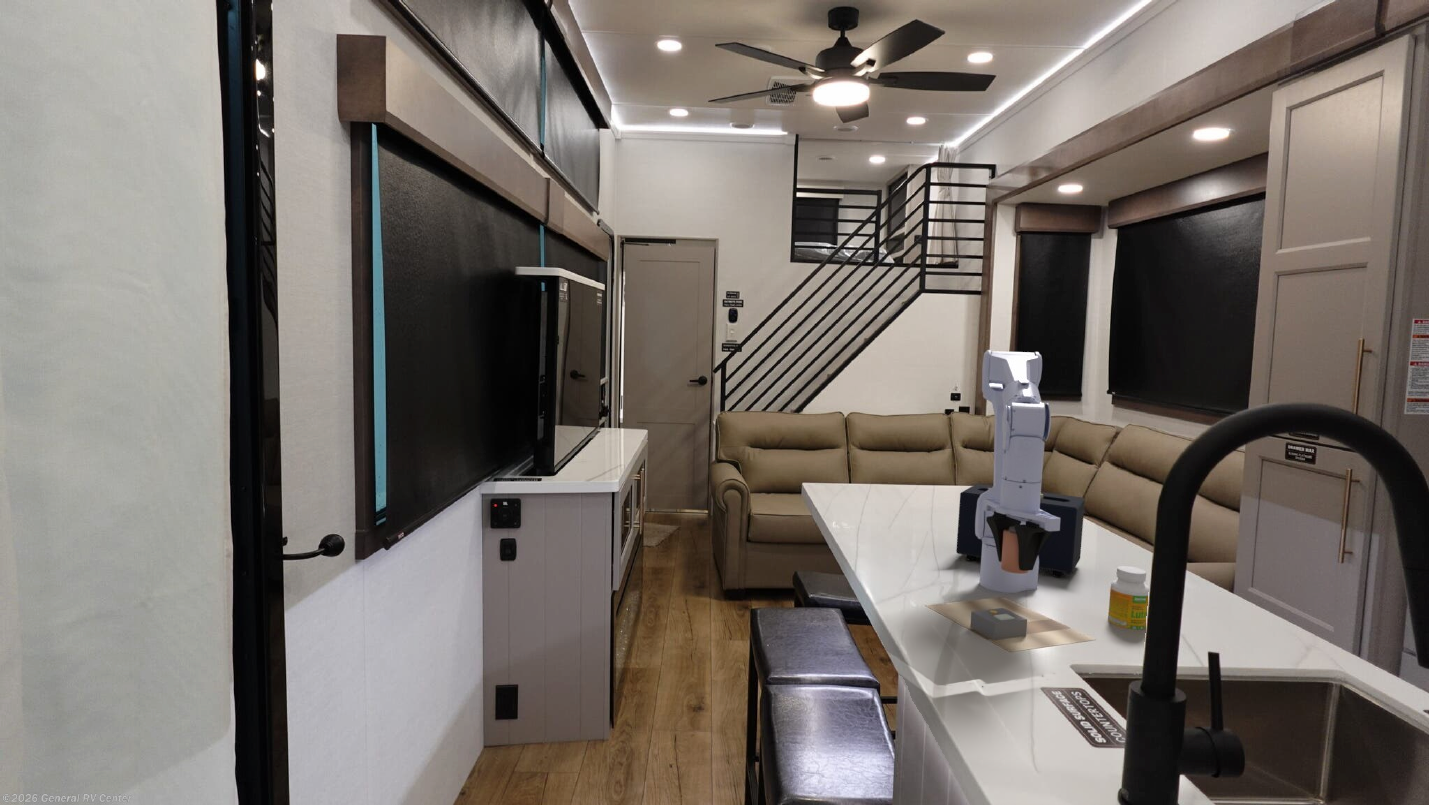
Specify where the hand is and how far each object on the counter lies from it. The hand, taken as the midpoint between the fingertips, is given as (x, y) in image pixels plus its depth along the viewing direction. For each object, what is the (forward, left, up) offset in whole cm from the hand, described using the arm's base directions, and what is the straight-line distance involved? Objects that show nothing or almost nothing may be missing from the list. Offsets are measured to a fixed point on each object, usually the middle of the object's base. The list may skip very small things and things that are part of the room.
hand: (1015, 565), depth 118 cm
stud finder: (+7, +4, -8) cm, 12 cm away
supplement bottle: (-17, +7, -10) cm, 21 cm away
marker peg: (0, 0, -1) cm, 1 cm away
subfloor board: (+2, +1, -10) cm, 10 cm away
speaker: (-27, -27, -10) cm, 39 cm away
